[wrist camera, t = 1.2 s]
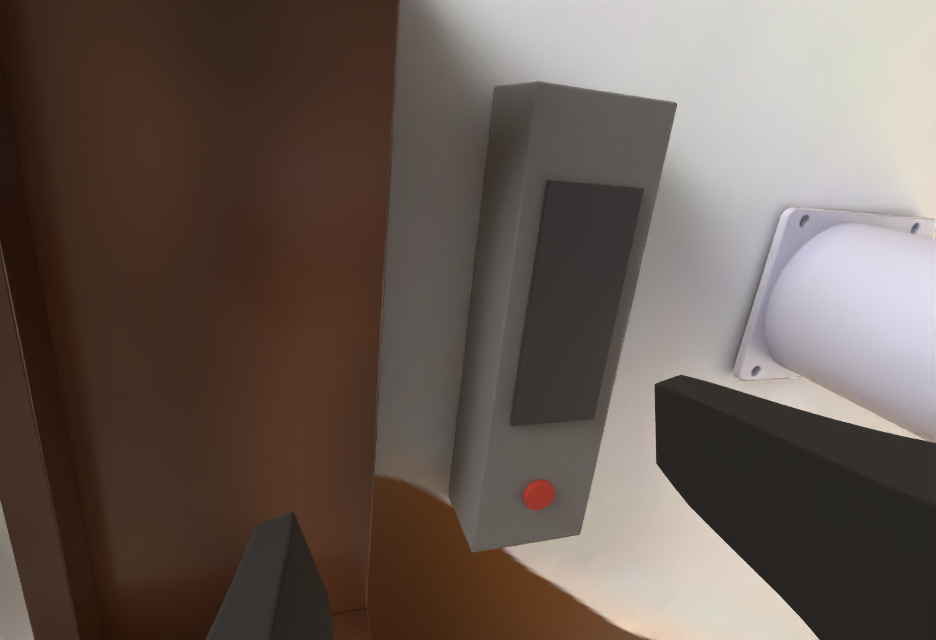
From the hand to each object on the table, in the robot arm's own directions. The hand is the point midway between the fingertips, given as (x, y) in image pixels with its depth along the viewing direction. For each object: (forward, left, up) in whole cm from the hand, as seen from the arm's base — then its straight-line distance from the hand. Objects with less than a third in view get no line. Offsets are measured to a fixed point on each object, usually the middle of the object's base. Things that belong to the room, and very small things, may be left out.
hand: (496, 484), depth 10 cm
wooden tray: (+6, 0, -10) cm, 11 cm away
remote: (-5, 0, -10) cm, 11 cm away
